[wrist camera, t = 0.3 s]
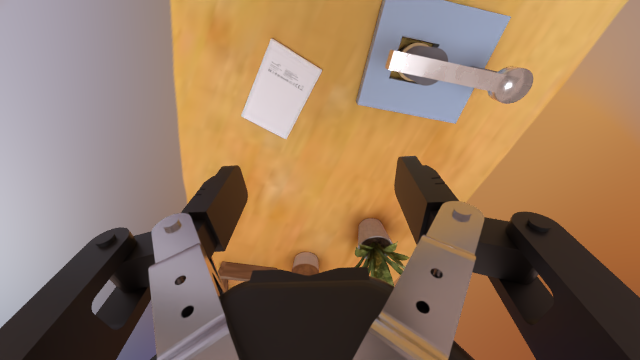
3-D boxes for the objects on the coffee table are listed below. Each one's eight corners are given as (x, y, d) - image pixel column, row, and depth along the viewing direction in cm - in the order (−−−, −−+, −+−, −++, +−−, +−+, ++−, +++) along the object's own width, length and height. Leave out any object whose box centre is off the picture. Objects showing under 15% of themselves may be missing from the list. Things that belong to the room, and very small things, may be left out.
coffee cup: (329, 257, 57) (331, 320, 44) (310, 274, 61) (307, 337, 48) (301, 243, 55) (294, 306, 42) (283, 261, 58) (272, 325, 46)
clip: (393, 39, 24) (397, 40, 23) (529, 70, 25) (540, 72, 24) (382, 76, 26) (385, 78, 25) (509, 102, 27) (518, 106, 26)
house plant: (320, 231, 52) (319, 302, 39) (357, 190, 46) (372, 258, 32) (369, 254, 56) (384, 326, 43) (409, 219, 50) (442, 290, 36)
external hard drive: (243, 113, 38) (272, 37, 32) (287, 136, 41) (322, 69, 35) (240, 116, 37) (270, 37, 31) (286, 139, 39) (322, 70, 33)
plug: (399, 38, 32) (419, 40, 25) (430, 45, 32) (458, 49, 26) (388, 74, 34) (403, 84, 28) (417, 80, 35) (439, 91, 28)
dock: (385, -11, 29) (406, -25, 22) (500, 17, 30) (556, 12, 23) (356, 101, 36) (364, 118, 29) (449, 119, 38) (479, 140, 31)
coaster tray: (222, 261, 59) (216, 275, 55) (277, 268, 60) (274, 282, 56) (224, 292, 66) (219, 306, 63) (273, 297, 67) (270, 311, 64)
